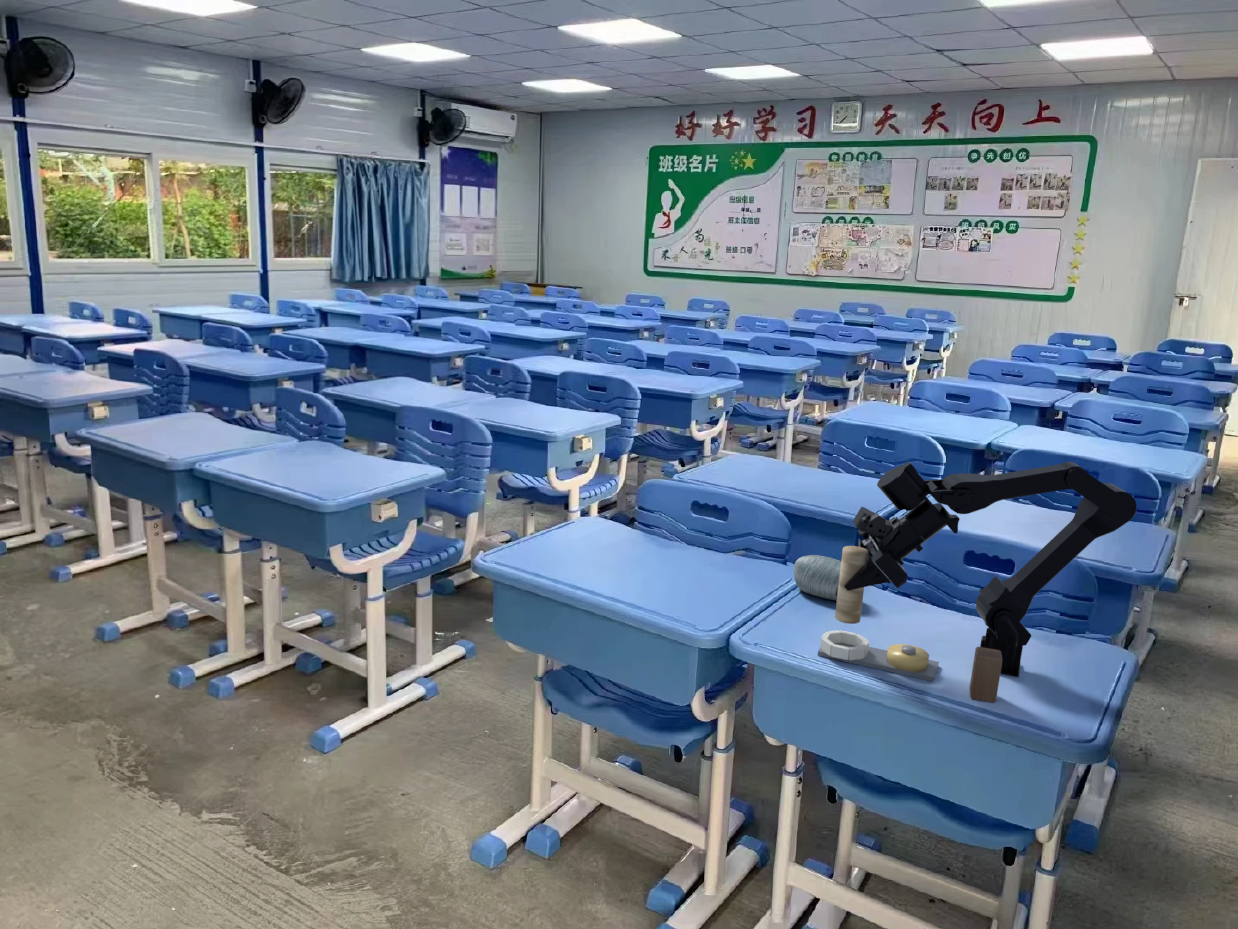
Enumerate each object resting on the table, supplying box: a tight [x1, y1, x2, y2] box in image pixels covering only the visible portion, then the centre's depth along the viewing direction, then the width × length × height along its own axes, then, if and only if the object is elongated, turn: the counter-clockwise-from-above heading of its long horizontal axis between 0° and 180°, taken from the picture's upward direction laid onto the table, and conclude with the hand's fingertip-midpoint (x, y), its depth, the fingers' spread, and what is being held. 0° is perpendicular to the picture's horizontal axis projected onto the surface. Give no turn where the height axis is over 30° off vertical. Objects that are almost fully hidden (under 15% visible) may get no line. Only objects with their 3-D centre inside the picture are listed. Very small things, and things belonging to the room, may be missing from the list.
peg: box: [834, 545, 868, 625], centre depth 168 cm, size 4×4×13 cm
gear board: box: [817, 629, 940, 682], centre depth 168 cm, size 20×8×4 cm, turn 65°
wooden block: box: [969, 646, 1002, 704], centre depth 157 cm, size 4×4×8 cm
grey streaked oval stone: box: [793, 554, 841, 602], centre depth 199 cm, size 14×10×10 cm
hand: (843, 583), depth 168 cm, fingers closed on peg, 4 cm apart
